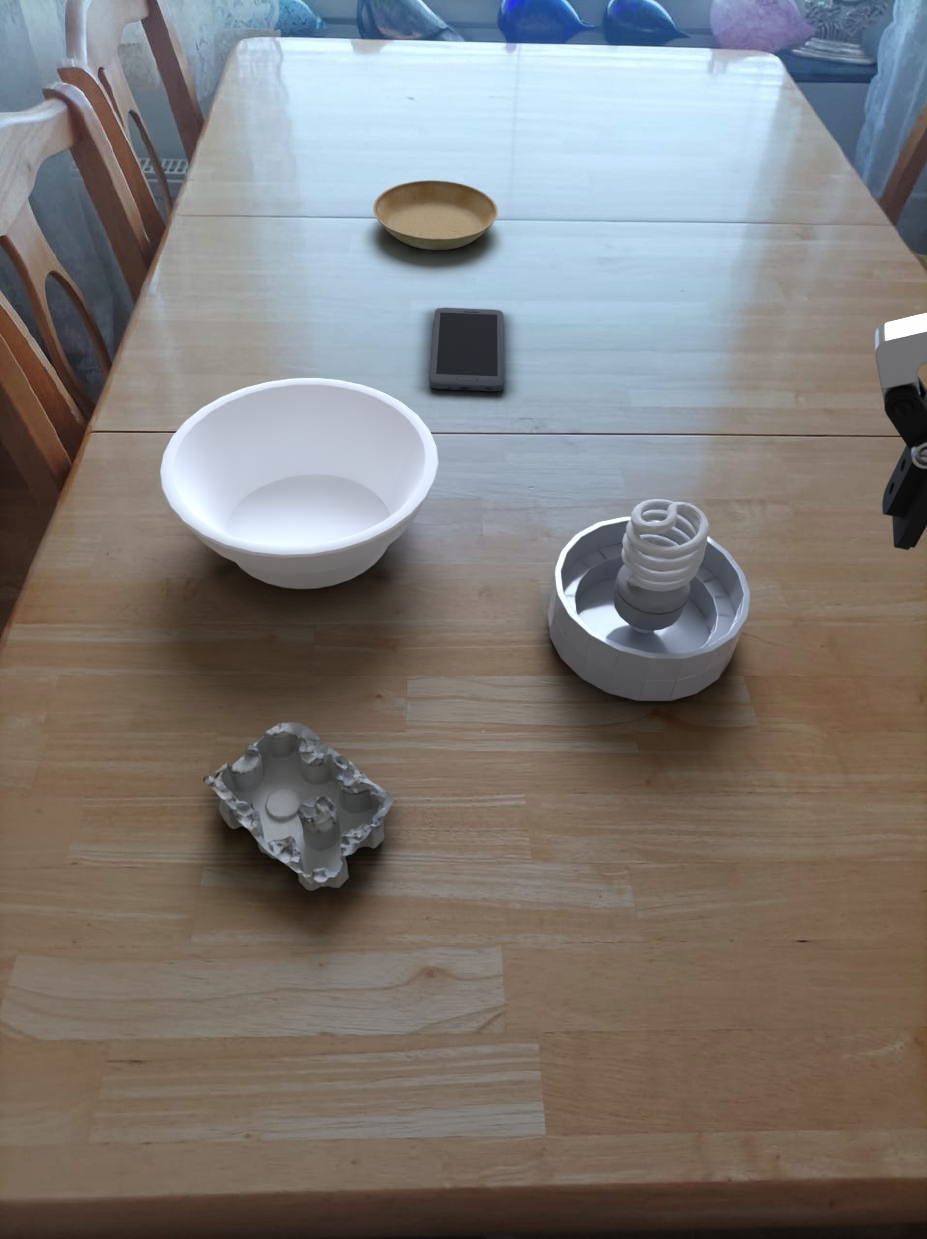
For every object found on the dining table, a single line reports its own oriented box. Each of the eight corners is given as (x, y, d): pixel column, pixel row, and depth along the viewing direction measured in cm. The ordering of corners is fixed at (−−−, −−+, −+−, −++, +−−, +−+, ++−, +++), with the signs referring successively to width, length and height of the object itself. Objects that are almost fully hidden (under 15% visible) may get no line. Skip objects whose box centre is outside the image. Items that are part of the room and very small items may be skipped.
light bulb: (628, 665, 69) (659, 549, 60) (590, 612, 72) (615, 494, 63) (692, 643, 70) (732, 526, 61) (653, 592, 74) (685, 474, 65)
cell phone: (429, 389, 91) (429, 382, 91) (434, 312, 100) (434, 306, 100) (504, 392, 91) (504, 385, 91) (503, 315, 100) (503, 308, 100)
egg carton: (204, 808, 61) (192, 775, 58) (291, 736, 64) (284, 701, 61) (318, 913, 56) (312, 882, 53) (404, 829, 60) (402, 796, 57)
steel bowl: (759, 617, 73) (780, 568, 69) (680, 738, 65) (697, 691, 61) (603, 542, 78) (614, 492, 74) (512, 646, 70) (518, 597, 66)
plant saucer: (504, 208, 117) (506, 187, 115) (486, 266, 107) (487, 244, 105) (389, 194, 118) (389, 174, 116) (360, 251, 109) (359, 229, 107)
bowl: (159, 484, 81) (137, 405, 75) (389, 433, 87) (387, 357, 80) (210, 663, 68) (189, 586, 62) (476, 590, 74) (481, 513, 68)
